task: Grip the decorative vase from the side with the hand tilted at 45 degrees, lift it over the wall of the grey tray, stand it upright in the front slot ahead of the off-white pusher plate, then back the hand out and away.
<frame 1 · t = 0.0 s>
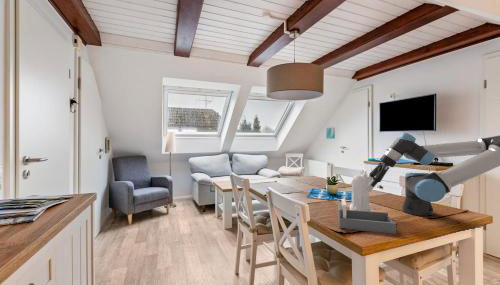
hand: (365, 187, 133), 15 cm above the table, tool tilted 35°, fingers open, 13 cm apart
pusher plate: (343, 211, 120), point 6 cm above the table, slide at 0.0 cm
grey tray: (364, 225, 117), on the table
decorative vase: (360, 214, 133), on the table
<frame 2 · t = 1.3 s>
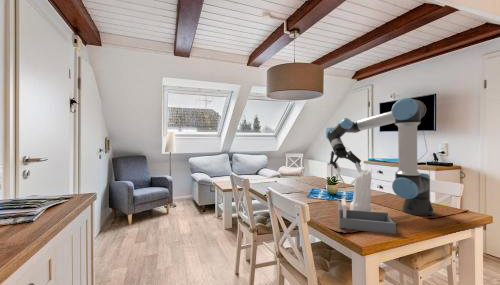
hand: (350, 172, 143), 23 cm above the table, tool tilted 45°, fingers open, 13 cm apart
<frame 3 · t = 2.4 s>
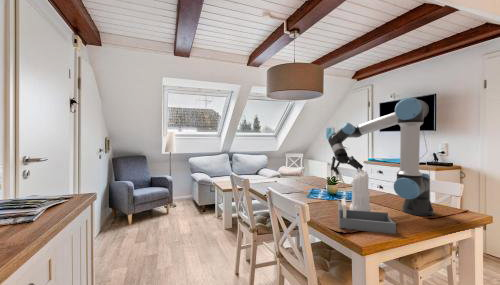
hand: (351, 178, 140), 20 cm above the table, tool tilted 45°, fingers open, 13 cm apart
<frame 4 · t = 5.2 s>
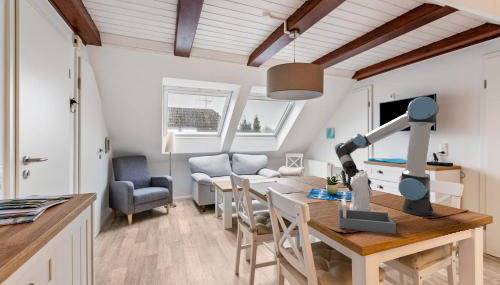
hand: (363, 195, 130), 12 cm above the table, tool tilted 45°, fingers closed on decorative vase, 9 cm apart
decorative vase: (360, 214, 133), on the table, touching gripper
everything else where it was.
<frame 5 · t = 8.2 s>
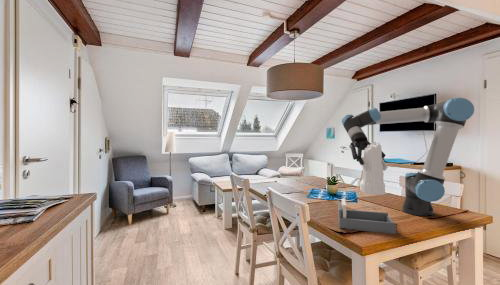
hand: (376, 169, 112), 29 cm above the table, tool tilted 45°, fingers closed on decorative vase, 9 cm apart
decorative vase: (372, 192, 116), point 17 cm above the table, touching gripper
everything else where it was.
when the fingers open (14 cm above the table, at t = 11.4 s): decorative vase drops 2 cm, resting on grey tray.
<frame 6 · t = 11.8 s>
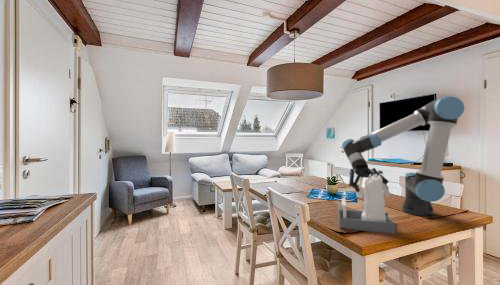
hand: (375, 196, 113), 15 cm above the table, tool tilted 45°, fingers open, 13 cm apart
decorative vase: (373, 224, 116), point 1 cm above the table, touching grey tray
everything else where it was.
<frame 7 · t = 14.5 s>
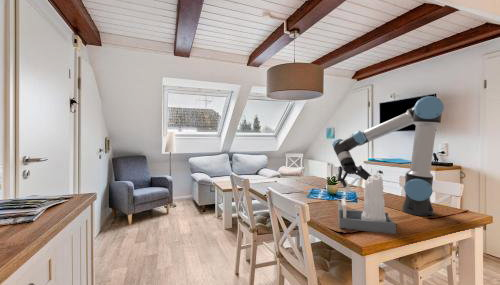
hand: (361, 191, 126), 15 cm above the table, tool tilted 45°, fingers open, 13 cm apart
nothing on the table moved.
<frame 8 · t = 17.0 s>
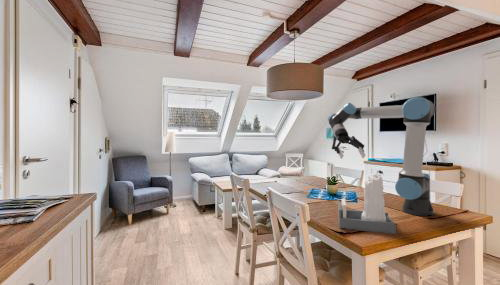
hand: (353, 156, 137), 33 cm above the table, tool tilted 45°, fingers open, 13 cm apart
nothing on the table moved.
at the end: decorative vase inside the target area on the grey tray (0.7 cm from its centre), point 0.6 cm above the grey tray's base; decorative vase tilted 0°; the gripper is holding nothing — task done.
